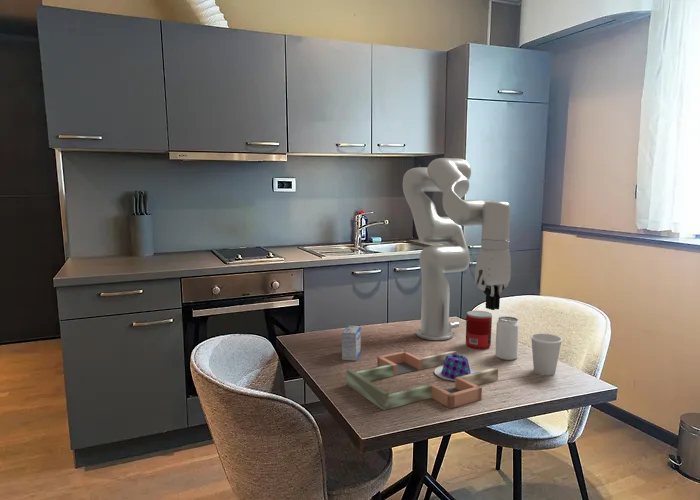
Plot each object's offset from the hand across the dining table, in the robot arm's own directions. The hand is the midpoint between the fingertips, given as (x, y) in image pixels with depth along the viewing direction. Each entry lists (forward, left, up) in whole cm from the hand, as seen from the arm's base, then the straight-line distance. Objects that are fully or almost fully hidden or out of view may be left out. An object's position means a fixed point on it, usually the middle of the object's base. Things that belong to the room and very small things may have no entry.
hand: (492, 308), depth 144 cm
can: (-10, -3, -17) cm, 20 cm away
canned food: (-10, -15, -17) cm, 25 cm away
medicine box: (+31, -27, -17) cm, 45 cm away
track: (+24, 0, -17) cm, 29 cm away
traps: (+24, 0, -17) cm, 29 cm away
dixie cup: (-10, +11, -17) cm, 23 cm away
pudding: (+13, 0, -18) cm, 22 cm away
